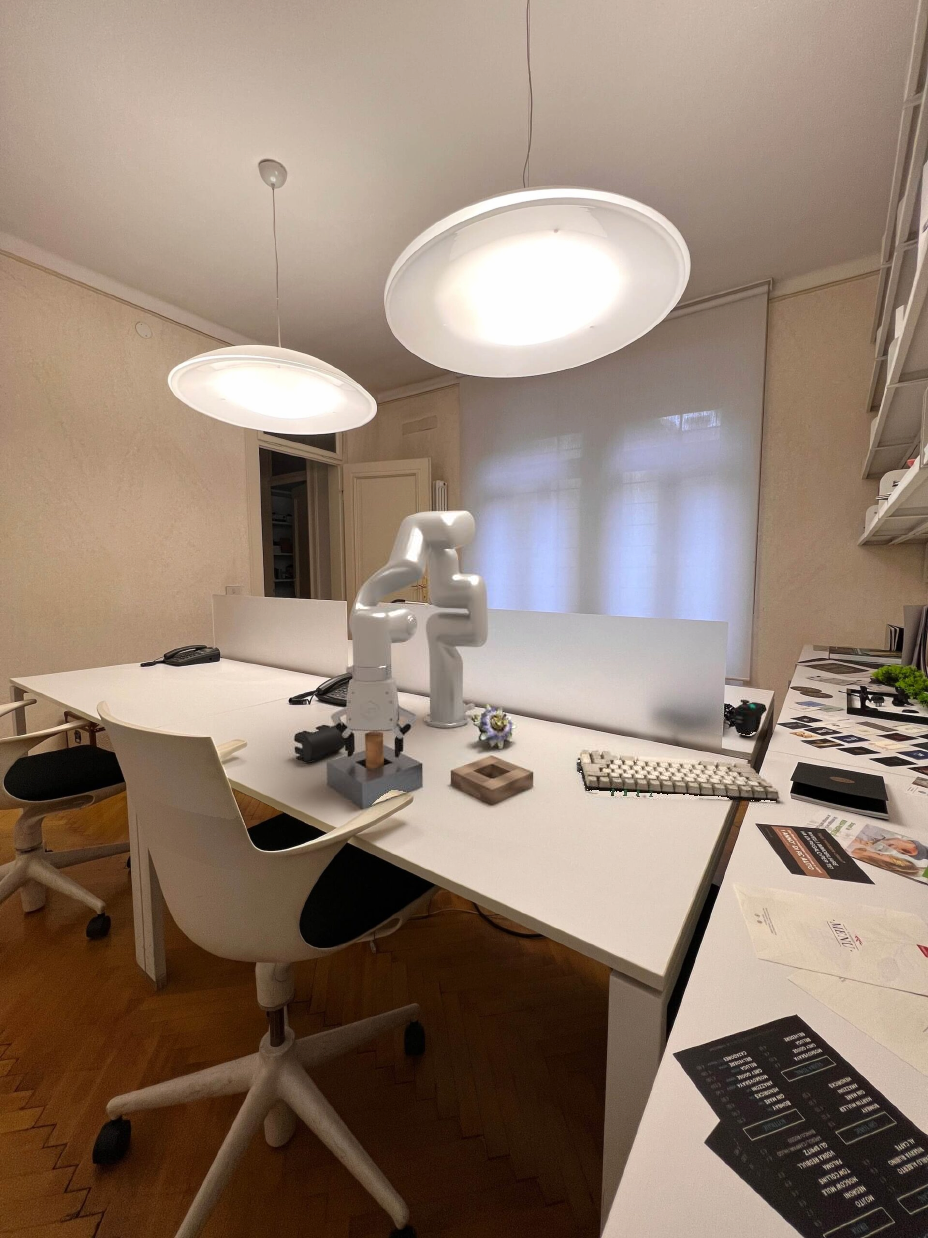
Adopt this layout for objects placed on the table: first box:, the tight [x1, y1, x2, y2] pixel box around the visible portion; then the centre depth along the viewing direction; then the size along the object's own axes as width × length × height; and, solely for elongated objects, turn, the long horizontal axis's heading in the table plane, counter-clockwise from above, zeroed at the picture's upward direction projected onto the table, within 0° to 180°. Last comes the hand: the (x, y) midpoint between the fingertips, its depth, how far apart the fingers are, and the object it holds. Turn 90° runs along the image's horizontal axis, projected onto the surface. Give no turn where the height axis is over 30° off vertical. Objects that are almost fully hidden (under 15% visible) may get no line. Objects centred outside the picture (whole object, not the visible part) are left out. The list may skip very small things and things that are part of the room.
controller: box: [733, 699, 767, 735], centre depth 133 cm, size 4×12×10 cm, turn 127°
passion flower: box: [470, 703, 518, 750], centre depth 127 cm, size 11×11×12 cm
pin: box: [364, 731, 384, 770], centre depth 102 cm, size 4×4×11 cm
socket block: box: [326, 744, 424, 810], centre depth 103 cm, size 14×14×5 cm
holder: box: [450, 755, 534, 806], centre depth 103 cm, size 12×12×3 cm
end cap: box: [293, 724, 345, 764], centre depth 118 cm, size 10×7×7 cm
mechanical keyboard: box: [576, 749, 780, 803], centre depth 106 cm, size 38×19×3 cm, turn 83°
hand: (374, 754), depth 102 cm, fingers open, 9 cm apart
